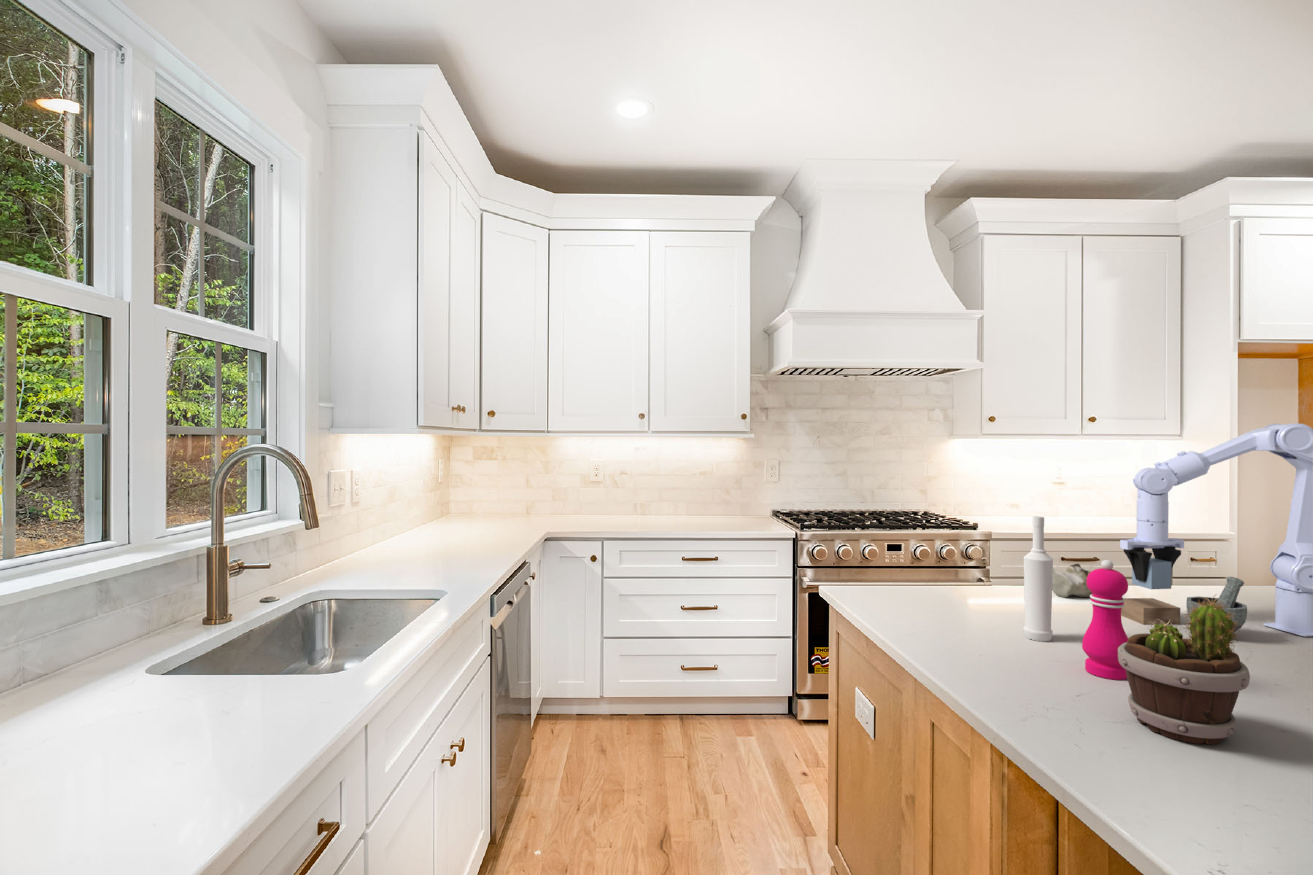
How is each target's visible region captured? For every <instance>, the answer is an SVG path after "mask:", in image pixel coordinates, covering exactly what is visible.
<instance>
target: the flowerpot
mask: <svg viewBox="0 0 1313 875" xmlns="http://www.w3.org/2000/svg"><path fill="white" fill-rule="evenodd" d="M1199 597H1200V598H1201V597H1202V596H1199ZM1203 597H1204V598H1205V597H1206V596H1203ZM1215 597H1216V594H1214V595H1213V596H1212V597H1211V598H1212V602H1210V600H1209V599H1207V598H1206V599H1207V601H1208V602H1209V603H1210V604H1208V602H1205V601H1206V599H1205V600H1204V601H1203V602H1202V605H1201V603H1200V601H1199V602H1198V603H1199V604H1198V605H1199V606H1200V607H1198V606H1197V608H1196V607H1194V608H1195V609H1193V607H1192V606H1191V607H1192V609H1193V610H1192V609H1190V610H1192V613H1191V612H1190V613H1191V614H1190V613H1189V615H1188V611H1186V613H1183V614H1181V613H1180V616H1181V615H1185V617H1184V620H1186V618H1187V620H1186V621H1187V622H1186V624H1184V626H1182V625H1180V628H1178V626H1176V625H1175V624H1174V625H1171V624H1172V622H1171V624H1170V625H1167V624H1168V623H1169V622H1170V621H1169V622H1168V623H1167V624H1166V623H1165V624H1166V625H1165V624H1164V623H1163V624H1164V625H1163V624H1161V625H1155V624H1154V623H1153V624H1154V625H1150V628H1149V627H1147V628H1146V629H1148V630H1149V633H1136V634H1133V635H1131V636H1130V637H1128V641H1127V642H1126V643H1123V644H1122V645H1121V646H1119V647H1118V661H1119V663H1120V665H1121V666H1122V667H1123V668H1124V669H1126V674H1127V679H1126V680H1127V682H1128V685H1129V689H1130V694H1129V695H1128V698H1127V699H1128V704H1129V707H1130V710H1131V711H1130V712H1132V714H1133V716H1135V717H1136V720H1137V722H1139V724H1146V727H1147V728H1148V730H1150V731H1152V732H1154V733H1157V734H1161V735H1163V736H1164V737H1167V738H1168V739H1169V738H1170V739H1173V740H1176V741H1177V740H1178V741H1183V742H1184V743H1190V744H1195V745H1199V744H1205V745H1216V744H1220V743H1221V742H1223V740H1225V738H1229V737H1230V736H1232V735H1233V734H1234V732H1235V729H1236V725H1237V722H1238V721H1237V718H1236V716H1235V715H1234V714H1233V711H1234V708H1235V706H1236V703H1237V701H1238V697H1239V694H1240V691H1243V690H1245V689H1247V687H1248V686H1249V684H1250V678H1251V677H1250V671H1249V668H1248V667H1247V665H1246V664H1244V663H1243V662H1242V661H1241V660H1240V656H1239V654H1238V653H1237V652H1236V651H1235V647H1236V646H1235V645H1233V644H1237V643H1239V641H1238V640H1240V638H1239V635H1238V634H1239V633H1235V634H1234V635H1235V636H1233V633H1232V632H1233V631H1234V630H1235V629H1234V630H1233V628H1234V627H1235V625H1236V626H1237V625H1238V624H1237V622H1235V623H1234V622H1233V621H1232V619H1231V618H1232V617H1233V616H1235V615H1233V616H1231V615H1232V614H1231V613H1230V612H1229V613H1230V614H1227V613H1226V612H1225V611H1224V610H1225V609H1224V610H1222V608H1227V607H1222V606H1223V605H1222V604H1223V603H1222V604H1221V603H1220V604H1221V606H1220V604H1219V603H1218V604H1216V603H1217V602H1216V603H1215V601H1216V600H1217V599H1215V600H1214V602H1213V598H1215ZM1204 598H1203V599H1204ZM1218 602H1221V601H1218ZM1203 603H1204V604H1203ZM1205 603H1207V604H1206V605H1205ZM1218 605H1219V606H1218ZM1226 611H1227V610H1226ZM1231 612H1232V610H1231ZM1234 613H1235V612H1234ZM1234 613H1233V614H1234ZM1230 617H1231V618H1230ZM1235 619H1236V618H1235ZM1157 620H1158V619H1157ZM1170 620H1171V619H1170ZM1160 621H1161V620H1160ZM1151 623H1152V622H1151ZM1233 625H1234V627H1233ZM1240 625H1241V624H1240ZM1153 626H1154V627H1153ZM1181 629H1182V630H1183V629H1186V630H1185V633H1186V634H1188V636H1186V637H1184V635H1183V633H1181V632H1180V631H1181ZM1236 631H1239V629H1236ZM1234 637H1235V638H1234ZM1232 639H1233V640H1232ZM1234 639H1235V640H1236V639H1238V640H1236V641H1235V640H1234ZM1234 641H1235V642H1234Z"/></svg>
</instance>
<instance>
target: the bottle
mask: <svg viewBox="0 0 1313 875" xmlns="http://www.w3.org/2000/svg"><path fill="white" fill-rule="evenodd" d="M1044 540H1045V516H1038V515H1034V516H1032V548H1030V552H1028V553H1026V555H1024V556H1023V584H1024V585H1023V588H1024V589H1023V592H1024V593H1023V594H1024V598H1023V600H1024V626H1023V628H1022V629H1023V630H1022V631H1023V637H1025V638H1026V639H1027V640H1030V639H1032V641H1034V640H1035V642H1042V641H1044V643H1045V641H1048V642H1051V641H1052V639H1053V632H1054V631H1053V630H1052V610H1053V609H1052V606H1053V605H1052V602H1053V591H1052V576H1053V569H1054V568H1053V567H1054V559H1053V557H1051V556H1050V555H1049V554H1048V553H1047V551H1046V549H1045V542H1044ZM1050 640H1051V641H1050Z"/></svg>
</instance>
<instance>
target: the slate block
mask: <svg viewBox="0 0 1313 875" xmlns="http://www.w3.org/2000/svg"><path fill="white" fill-rule="evenodd" d="M1171 566H1172V562H1169V561H1164V560H1160V559H1155V557H1151V558H1150V561H1149V564H1148V573H1147V580H1146V581H1140V580H1136V578H1135V574H1134V571H1133V568H1132V567H1131V568H1132V569H1131V572H1132V573H1131V584H1132V585H1134V586H1138V587H1141V588H1146V589H1148V590H1170V589H1172V570H1171Z"/></svg>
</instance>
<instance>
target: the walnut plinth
mask: <svg viewBox="0 0 1313 875" xmlns="http://www.w3.org/2000/svg"><path fill="white" fill-rule="evenodd" d="M1124 600H1125V601H1124V605H1125V606H1124V607H1123V608H1122V610H1121V617H1123V618H1126V619H1129V620H1131V621H1133V622H1136V623H1138V624H1141V625H1143V626H1145V625H1146V626H1148V625H1149V626H1154V624H1155V625H1161V624H1163V623H1164V624H1165V623H1166V624H1167V623H1168V622H1169V621H1170V622H1169V623H1168V624H1167V625H1168V626H1170V624H1171V622H1172V624H1171V625H1173V626H1179V625H1180V626H1181V607H1179V606H1176V605H1173V604H1171V603H1167V602H1165V601H1163V600H1159V599H1156V598H1153V597H1151V598H1150V597H1148V598H1147V597H1144V598H1143V597H1140V598H1139V597H1135V598H1134V597H1127V598H1126V597H1125V598H1124ZM1157 619H1158V620H1157ZM1170 619H1171V620H1170ZM1160 620H1161V621H1160ZM1151 622H1152V623H1151ZM1153 623H1154V624H1153ZM1164 624H1163V625H1164ZM1166 624H1165V625H1166ZM1174 624H1175V625H1174Z"/></svg>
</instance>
